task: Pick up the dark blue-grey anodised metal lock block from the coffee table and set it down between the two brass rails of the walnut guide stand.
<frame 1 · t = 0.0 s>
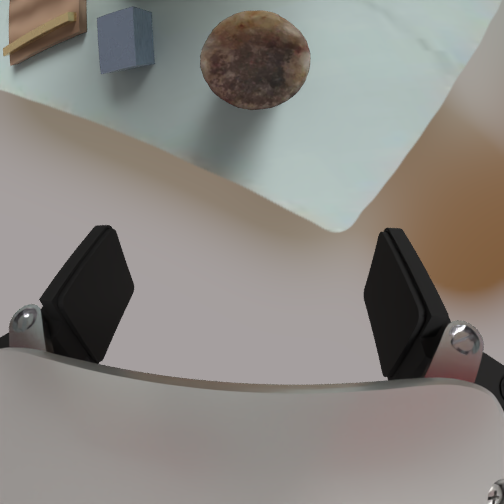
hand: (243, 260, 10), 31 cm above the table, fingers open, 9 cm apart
channel stand: (47, 2, 23), on the table
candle: (264, 60, 31), on the table
lock block: (136, 41, 29), on the table
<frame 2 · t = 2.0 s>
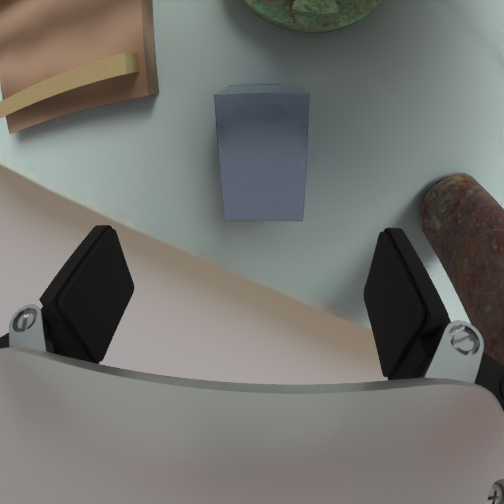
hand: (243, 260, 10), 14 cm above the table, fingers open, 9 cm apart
channel stand: (67, 18, 14), on the table
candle: (446, 203, 23), on the table
lock block: (265, 134, 21), on the table
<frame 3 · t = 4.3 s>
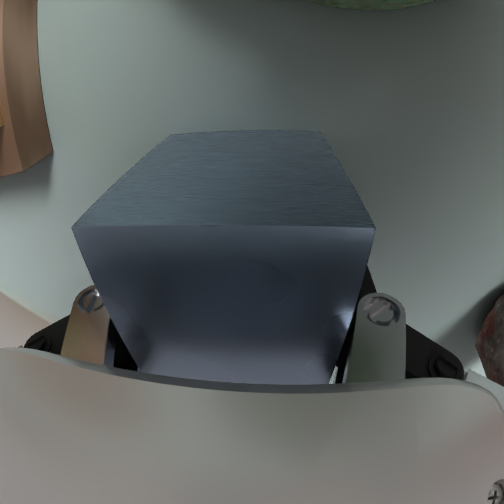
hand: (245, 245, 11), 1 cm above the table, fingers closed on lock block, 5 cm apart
lock block: (247, 232, 11), on the table, touching gripper
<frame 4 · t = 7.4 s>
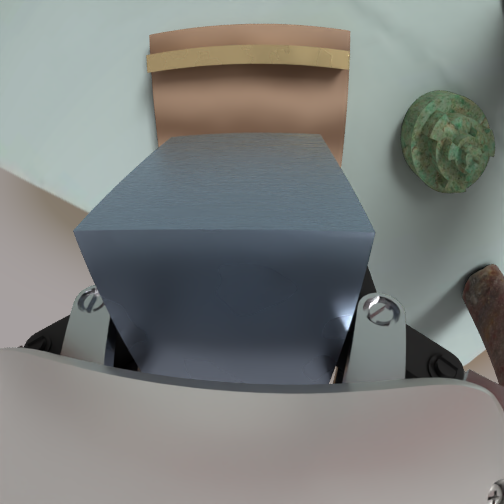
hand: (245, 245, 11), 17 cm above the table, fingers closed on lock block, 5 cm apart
channel stand: (250, 123, 24), on the table
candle: (477, 279, 33), on the table
lock block: (248, 234, 11), point 17 cm above the table, touching gripper
decorative artifact: (441, 137, 23), on the table
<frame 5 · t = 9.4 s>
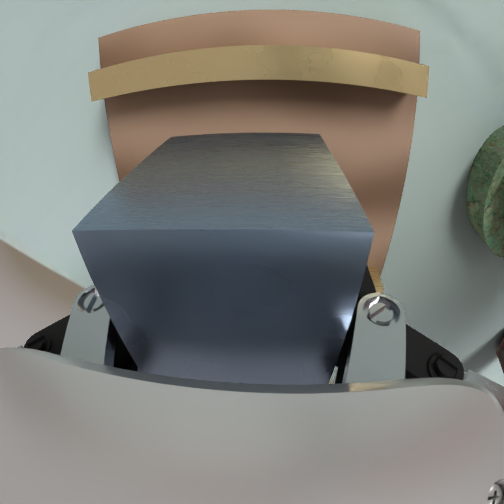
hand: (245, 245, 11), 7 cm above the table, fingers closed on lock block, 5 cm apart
channel stand: (260, 169, 17), on the table
lock block: (247, 234, 11), point 7 cm above the table, touching gripper
when the fingers open (4 cm above the table, at t = 10.9 s): lock block drops 1 cm, resting on channel stand.
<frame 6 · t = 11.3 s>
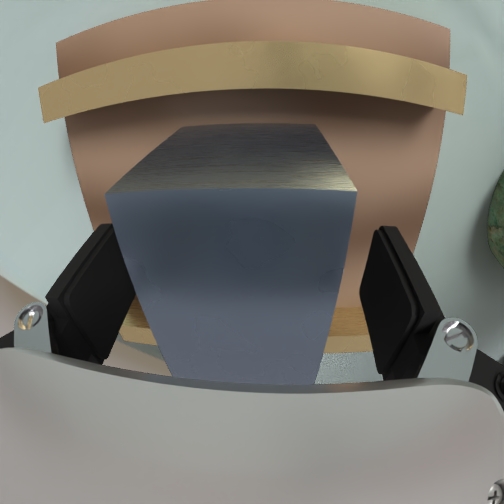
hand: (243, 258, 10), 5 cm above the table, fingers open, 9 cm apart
channel stand: (252, 196, 14), on the table
lock block: (250, 216, 12), point 2 cm above the table, touching channel stand
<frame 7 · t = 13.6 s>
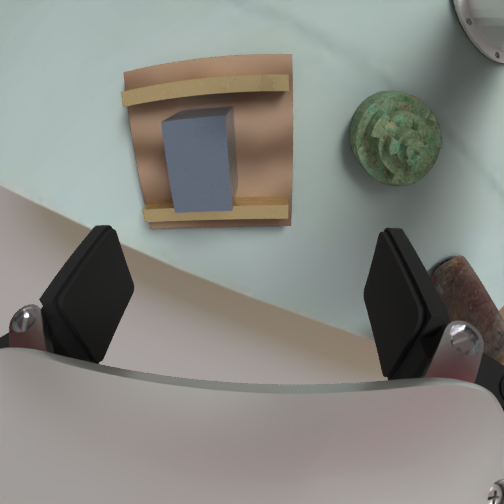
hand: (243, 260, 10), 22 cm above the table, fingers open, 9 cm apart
channel stand: (212, 142, 29), on the table
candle: (446, 271, 38), on the table
lock block: (210, 147, 27), point 2 cm above the table, touching channel stand
decorative artifact: (391, 134, 27), on the table
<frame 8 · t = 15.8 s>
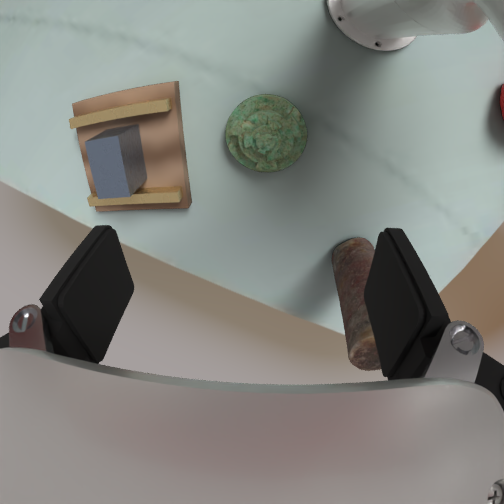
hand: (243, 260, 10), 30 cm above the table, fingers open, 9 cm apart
channel stand: (132, 149, 38), on the table
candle: (351, 252, 47), on the table
lock block: (127, 153, 36), point 2 cm above the table, touching channel stand
decorative artifact: (266, 130, 36), on the table
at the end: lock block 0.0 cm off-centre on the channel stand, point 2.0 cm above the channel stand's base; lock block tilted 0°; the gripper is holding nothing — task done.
